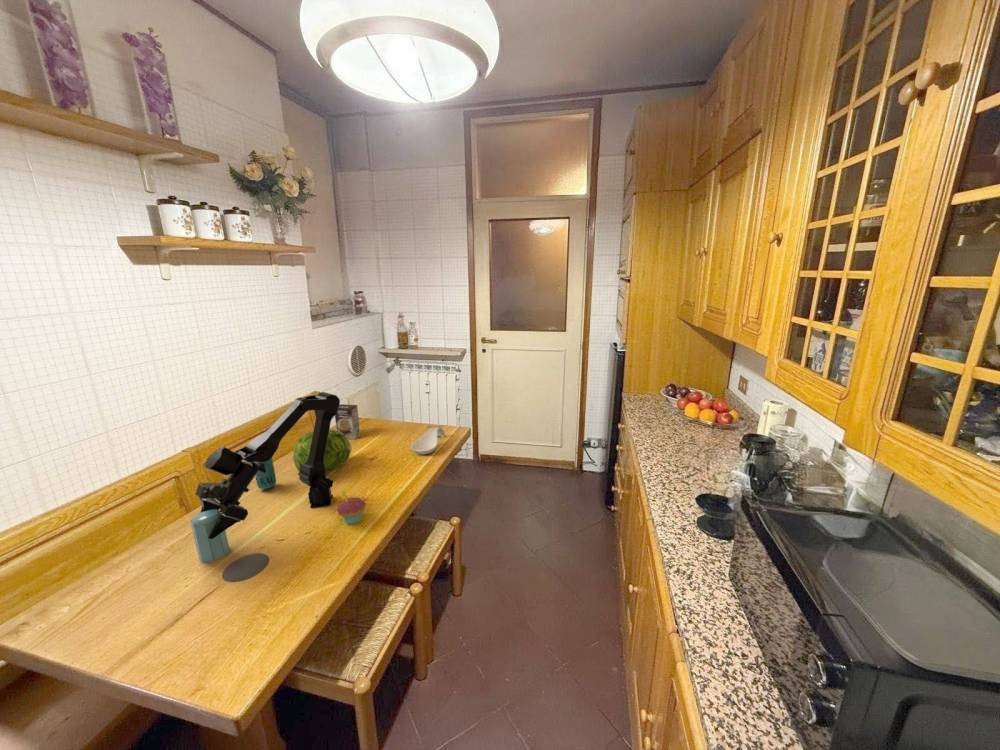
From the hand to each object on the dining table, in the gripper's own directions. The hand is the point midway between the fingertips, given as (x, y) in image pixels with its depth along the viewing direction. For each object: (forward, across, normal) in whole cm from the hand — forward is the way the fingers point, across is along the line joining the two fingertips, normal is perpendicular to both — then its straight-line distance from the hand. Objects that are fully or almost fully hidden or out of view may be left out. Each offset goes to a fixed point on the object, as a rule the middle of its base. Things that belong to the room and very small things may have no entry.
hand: (203, 532), depth 112 cm
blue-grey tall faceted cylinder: (+5, 0, +7) cm, 8 cm away
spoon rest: (-57, -2, +69) cm, 90 cm away
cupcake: (-18, +19, +30) cm, 40 cm away
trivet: (+3, +14, +9) cm, 16 cm away
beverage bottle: (-14, -26, +26) cm, 40 cm away
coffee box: (-47, -44, +59) cm, 87 cm away
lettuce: (-29, -22, +41) cm, 55 cm away
